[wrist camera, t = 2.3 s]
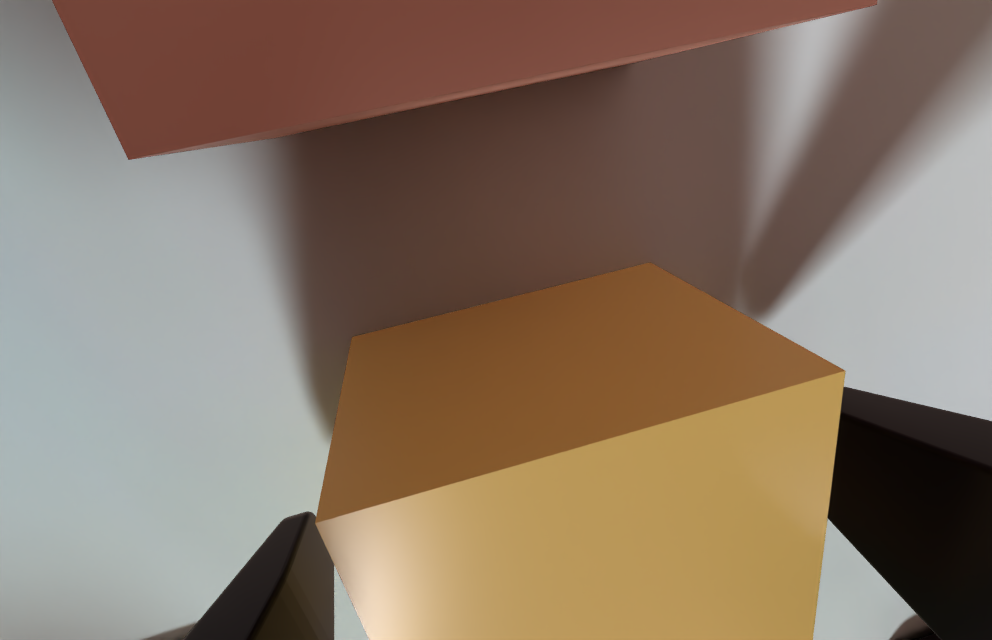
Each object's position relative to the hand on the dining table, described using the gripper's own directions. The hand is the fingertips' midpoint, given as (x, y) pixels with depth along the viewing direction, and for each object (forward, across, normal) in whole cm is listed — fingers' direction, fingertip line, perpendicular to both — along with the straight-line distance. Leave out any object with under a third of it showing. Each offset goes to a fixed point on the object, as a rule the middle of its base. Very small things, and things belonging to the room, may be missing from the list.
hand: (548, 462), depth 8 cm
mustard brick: (+1, 0, 0) cm, 1 cm away
